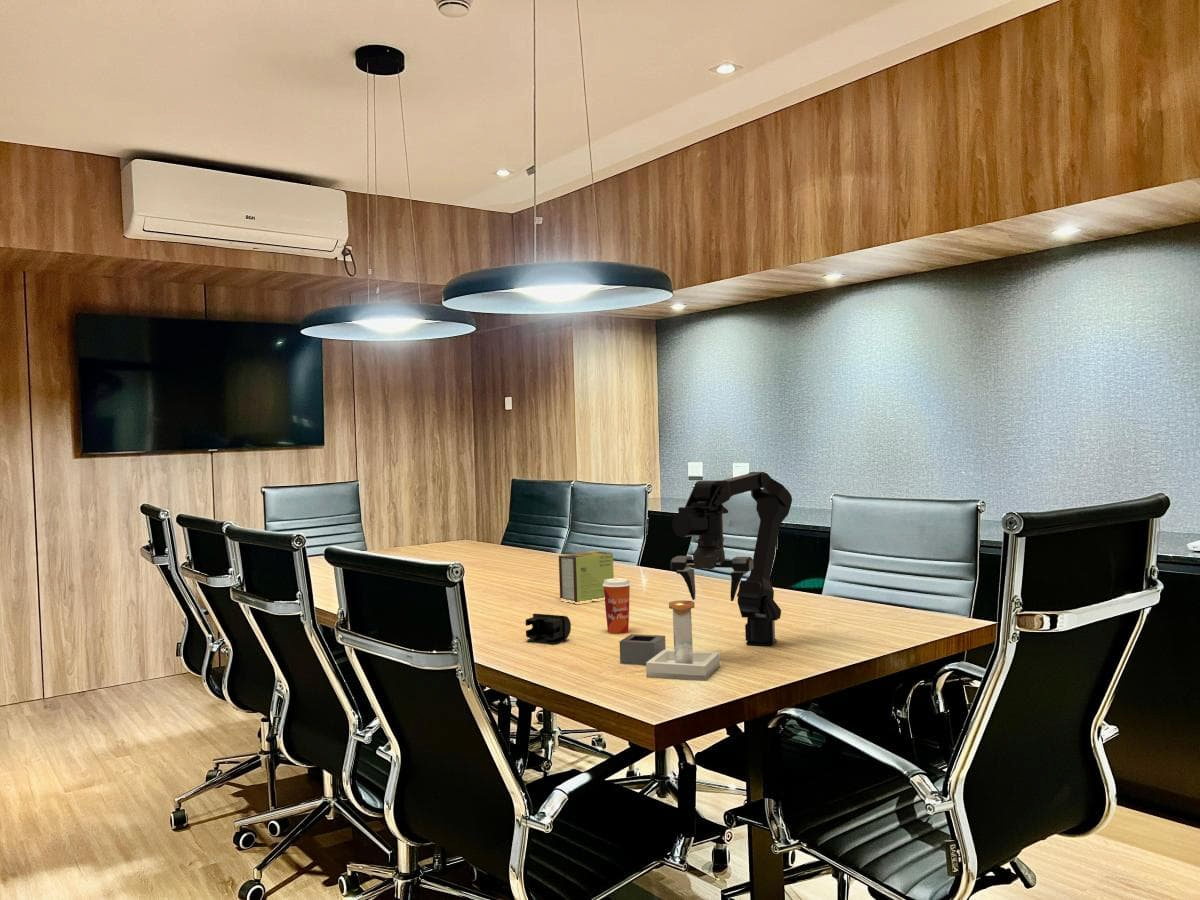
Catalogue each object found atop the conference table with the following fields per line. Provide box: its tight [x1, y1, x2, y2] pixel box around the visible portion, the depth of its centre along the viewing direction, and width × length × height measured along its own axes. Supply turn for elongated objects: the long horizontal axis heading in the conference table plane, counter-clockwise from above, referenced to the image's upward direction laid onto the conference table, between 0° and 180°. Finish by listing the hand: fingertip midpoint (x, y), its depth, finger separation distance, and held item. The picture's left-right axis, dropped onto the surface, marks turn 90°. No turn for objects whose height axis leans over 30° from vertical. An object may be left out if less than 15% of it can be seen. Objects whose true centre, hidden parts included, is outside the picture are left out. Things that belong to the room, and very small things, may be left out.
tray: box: [645, 649, 721, 681], centre depth 194 cm, size 13×13×3 cm
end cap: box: [525, 613, 572, 646], centre depth 230 cm, size 10×7×7 cm
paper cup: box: [603, 577, 632, 635], centre depth 239 cm, size 8×8×14 cm
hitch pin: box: [668, 599, 695, 664], centre depth 194 cm, size 6×6×14 cm
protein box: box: [558, 550, 615, 602], centre depth 293 cm, size 10×15×16 cm
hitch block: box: [618, 633, 667, 666], centre depth 205 cm, size 8×8×5 cm
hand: (712, 600), depth 207 cm, fingers open, 9 cm apart
